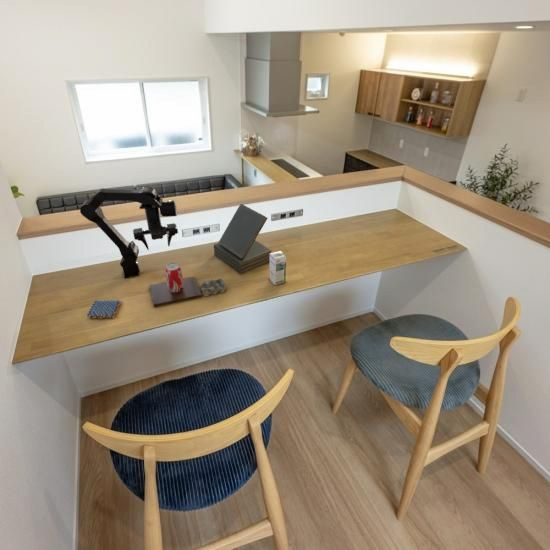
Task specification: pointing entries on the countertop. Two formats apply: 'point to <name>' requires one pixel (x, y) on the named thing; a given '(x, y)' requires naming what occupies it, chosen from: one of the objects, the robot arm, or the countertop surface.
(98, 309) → the woven mat
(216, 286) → the grey lumpy block
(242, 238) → the dark grey display stand
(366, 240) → the countertop surface
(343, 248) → the countertop surface
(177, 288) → the soda can
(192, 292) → the cutting board
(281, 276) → the milk carton
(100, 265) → the countertop surface
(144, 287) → the countertop surface
